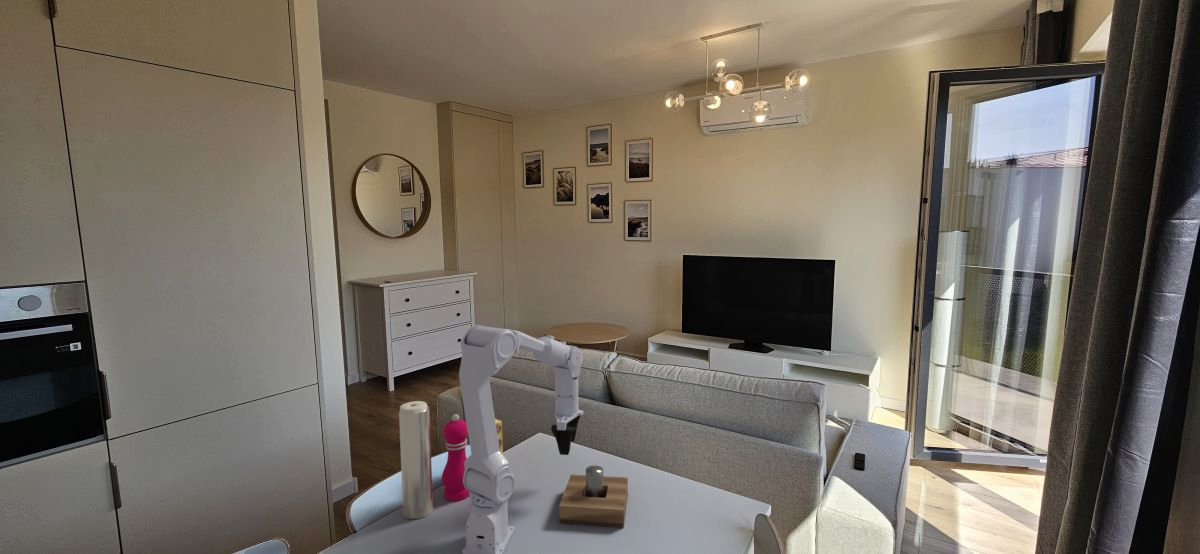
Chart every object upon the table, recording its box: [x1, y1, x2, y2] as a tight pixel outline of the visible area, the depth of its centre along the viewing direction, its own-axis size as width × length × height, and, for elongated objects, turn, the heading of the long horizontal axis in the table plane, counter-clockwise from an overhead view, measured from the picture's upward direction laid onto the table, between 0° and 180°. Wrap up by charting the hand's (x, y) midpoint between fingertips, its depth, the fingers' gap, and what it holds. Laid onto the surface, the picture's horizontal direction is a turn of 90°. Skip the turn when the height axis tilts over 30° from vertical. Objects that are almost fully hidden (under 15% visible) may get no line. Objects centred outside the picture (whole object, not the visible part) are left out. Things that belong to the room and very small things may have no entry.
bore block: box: [558, 474, 629, 529], centre depth 110 cm, size 14×14×4 cm
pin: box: [585, 465, 604, 498], centre depth 110 cm, size 4×4×8 cm
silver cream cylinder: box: [398, 400, 434, 520], centre depth 108 cm, size 6×6×25 cm
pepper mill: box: [441, 413, 469, 502], centre depth 116 cm, size 7×7×20 cm
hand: (567, 447), depth 118 cm, fingers open, 7 cm apart
